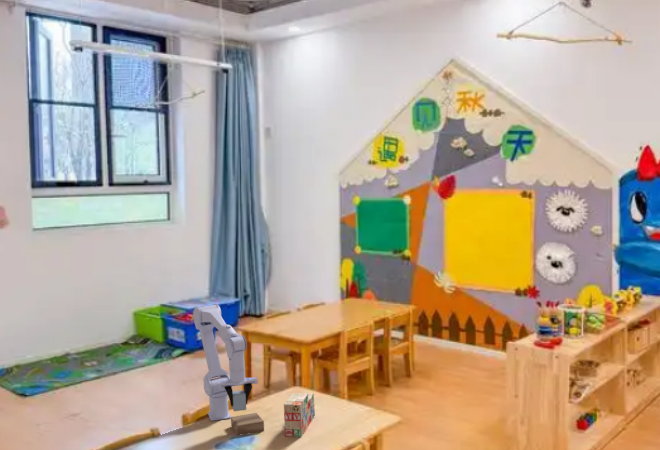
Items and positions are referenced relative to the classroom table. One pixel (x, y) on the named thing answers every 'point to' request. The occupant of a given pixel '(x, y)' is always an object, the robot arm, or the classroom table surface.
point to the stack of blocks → (298, 413)
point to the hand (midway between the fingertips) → (238, 404)
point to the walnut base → (247, 423)
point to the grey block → (239, 400)
